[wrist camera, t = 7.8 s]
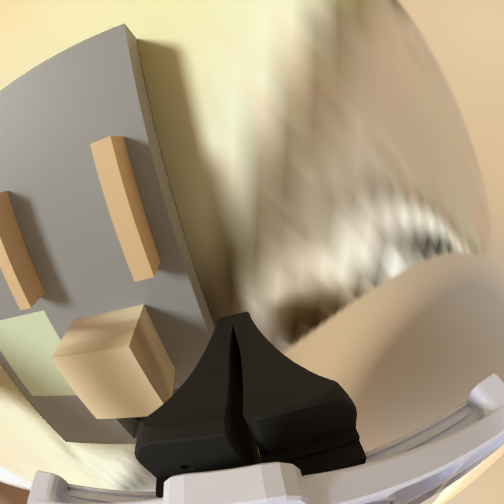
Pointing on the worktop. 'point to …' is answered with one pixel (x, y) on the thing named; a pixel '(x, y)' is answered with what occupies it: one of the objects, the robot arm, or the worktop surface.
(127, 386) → the birch block
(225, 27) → the worktop surface
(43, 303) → the board
